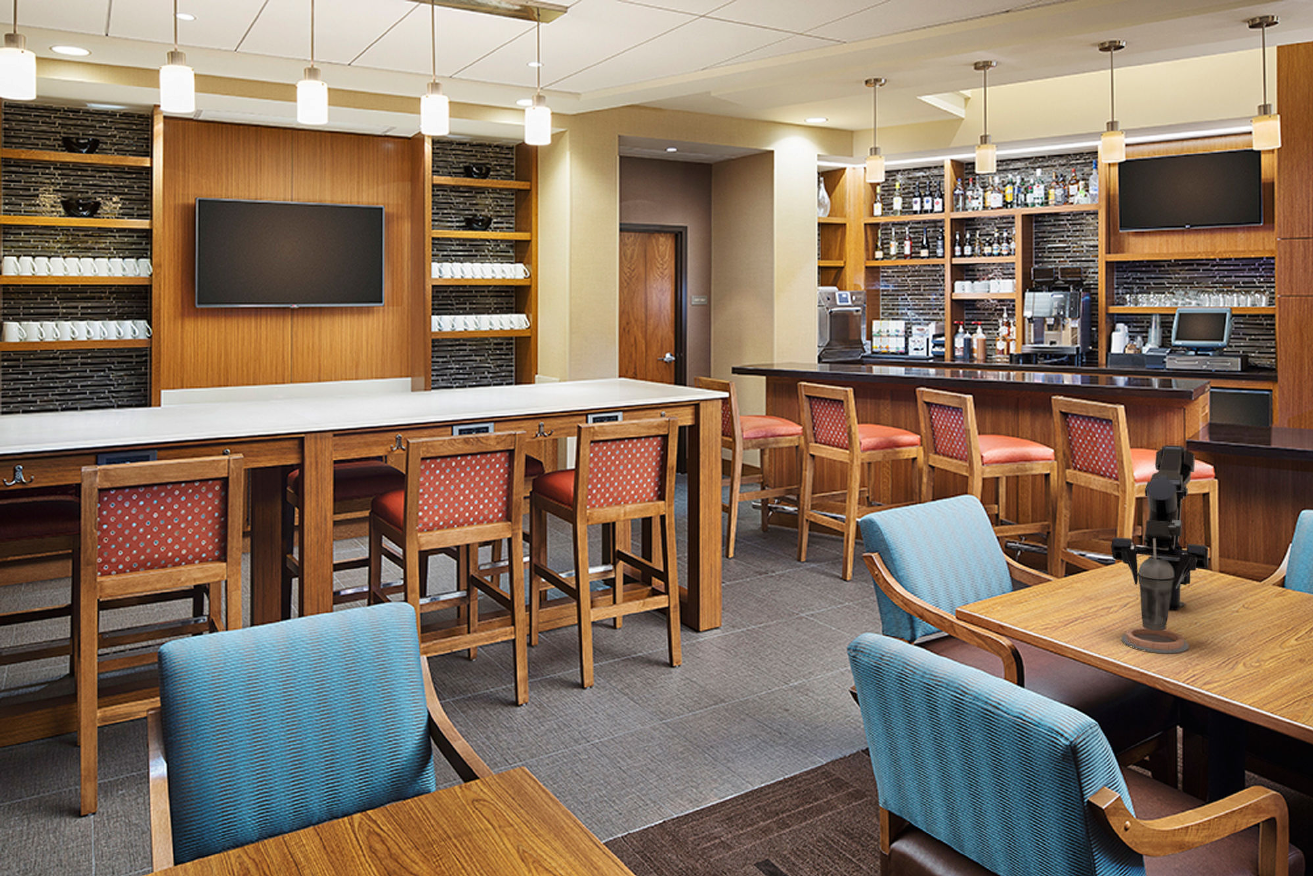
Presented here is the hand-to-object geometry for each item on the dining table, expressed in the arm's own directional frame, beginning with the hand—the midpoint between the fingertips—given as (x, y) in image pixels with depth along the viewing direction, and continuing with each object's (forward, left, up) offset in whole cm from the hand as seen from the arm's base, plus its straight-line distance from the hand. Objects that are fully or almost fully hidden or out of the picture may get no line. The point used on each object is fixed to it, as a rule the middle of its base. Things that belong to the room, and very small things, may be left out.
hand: (1155, 585), depth 205 cm
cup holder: (-1, 0, -13) cm, 13 cm away
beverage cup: (-1, 0, -10) cm, 10 cm away
